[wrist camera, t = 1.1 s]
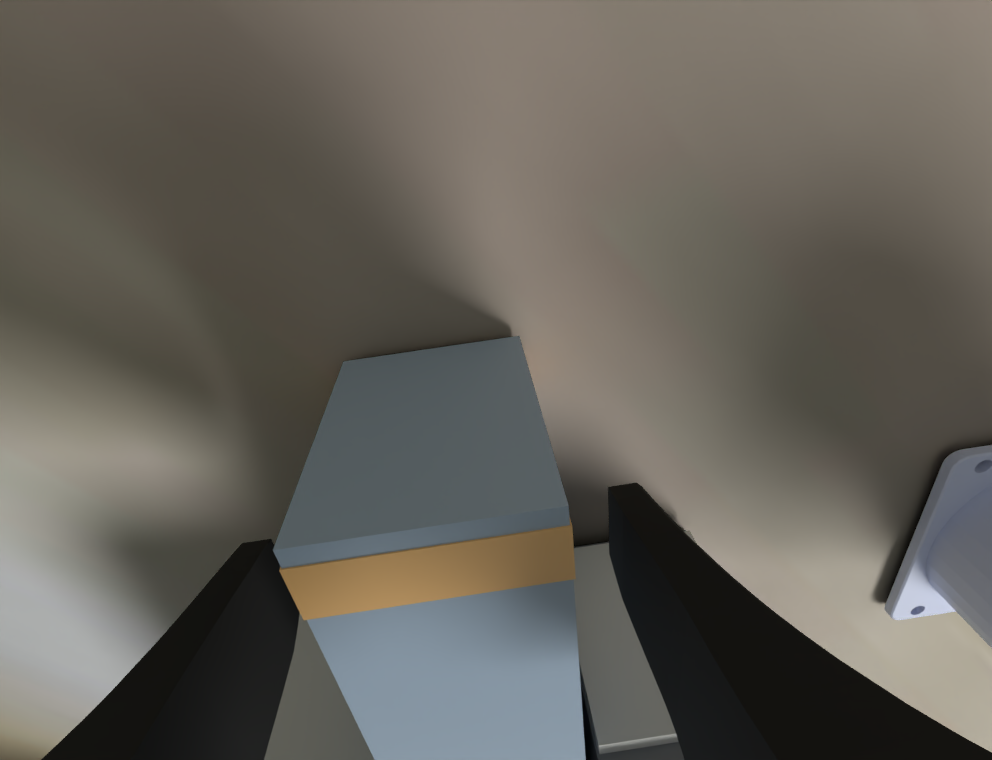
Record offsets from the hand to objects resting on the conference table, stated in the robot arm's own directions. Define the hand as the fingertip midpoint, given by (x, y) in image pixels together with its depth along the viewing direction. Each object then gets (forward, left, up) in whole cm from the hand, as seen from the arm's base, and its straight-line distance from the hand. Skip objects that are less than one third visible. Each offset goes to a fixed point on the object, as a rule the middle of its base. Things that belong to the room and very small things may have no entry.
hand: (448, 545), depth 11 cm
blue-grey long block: (0, +4, -4) cm, 5 cm away
